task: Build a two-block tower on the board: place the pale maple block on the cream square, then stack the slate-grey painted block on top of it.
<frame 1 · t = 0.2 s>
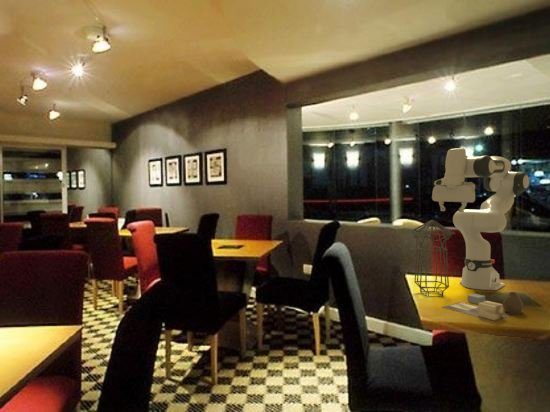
hand: (451, 211, 193), 39 cm above the table, tool pointing down, fingers open, 8 cm apart
board: (476, 313, 164), on the table
top block: (476, 304, 177), on the table
block: (490, 316, 156), point 1 cm above the table, touching board
geometric lantern: (431, 294, 193), on the table
vase: (512, 315, 162), on the table
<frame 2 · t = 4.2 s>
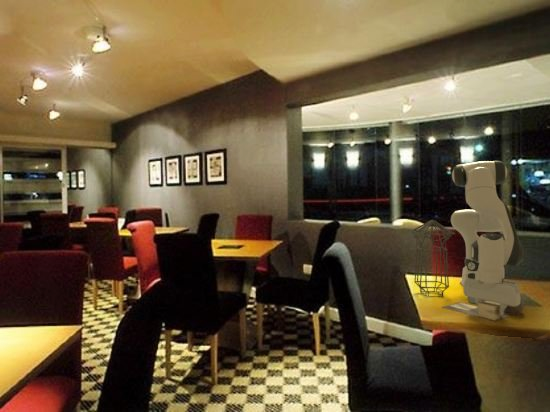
hand: (490, 312, 156), 3 cm above the table, tool pointing down, fingers closed on block, 6 cm apart
block: (490, 316, 156), point 1 cm above the table, touching board, gripper
everything else where it was.
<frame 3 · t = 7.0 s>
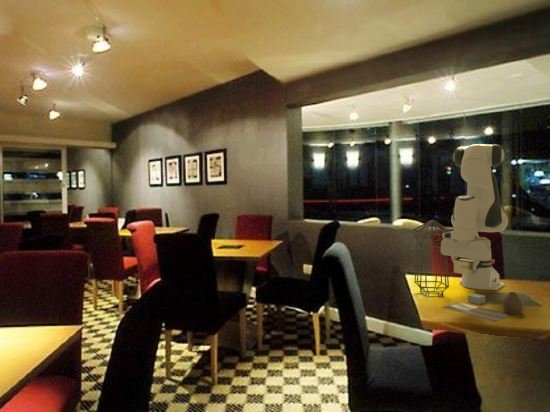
hand: (464, 268, 169), 17 cm above the table, tool pointing down, fingers closed on block, 6 cm apart
block: (464, 272, 169), point 15 cm above the table, touching gripper
everything else where it was.
when the fingers open (4 cm above the table, at t = 9.9 s): block stays where it is, resting on board.
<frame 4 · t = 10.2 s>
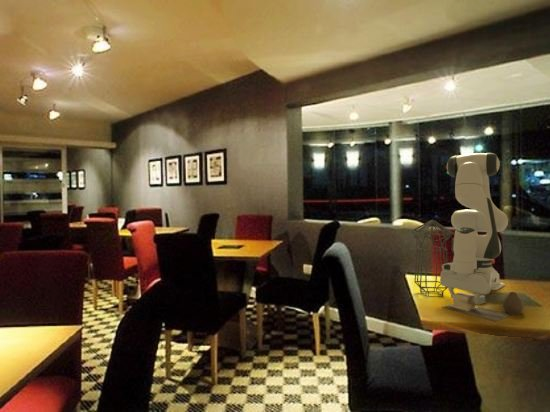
hand: (464, 300, 169), 4 cm above the table, tool pointing down, fingers open, 8 cm apart
block: (464, 306, 169), point 1 cm above the table, touching board
everything else where it was.
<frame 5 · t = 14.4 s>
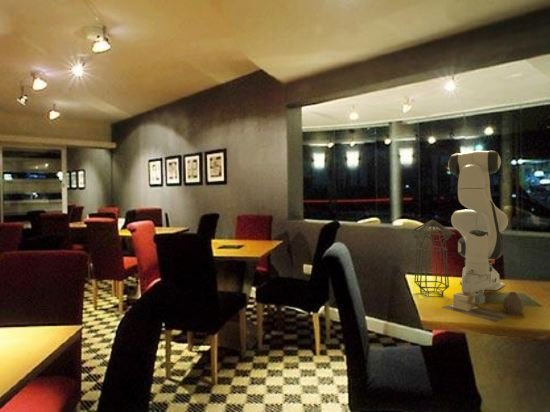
hand: (476, 300, 176), 2 cm above the table, tool pointing down, fingers closed on top block, 5 cm apart
top block: (476, 304, 176), on the table, touching gripper
everything else where it was.
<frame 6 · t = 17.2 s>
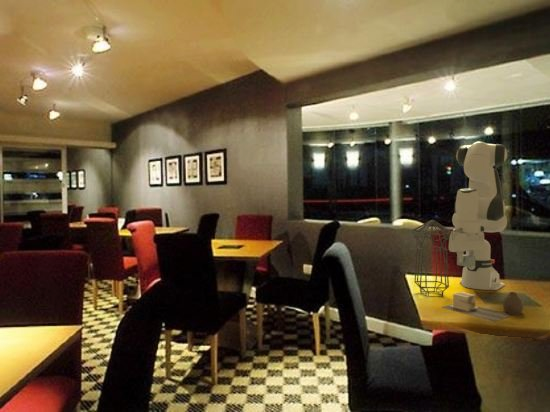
hand: (465, 261, 169), 20 cm above the table, tool pointing down, fingers closed on top block, 5 cm apart
top block: (466, 265, 169), point 18 cm above the table, touching gripper
everything else where it was.
when the fingers open (8 cm above the table, at t = 20.3 s): top block stays where it is, resting on block.
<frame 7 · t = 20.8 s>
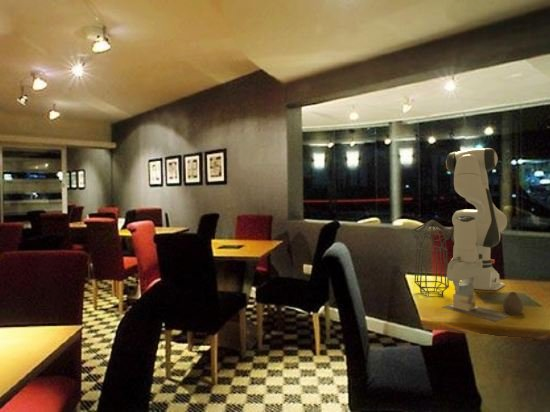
hand: (464, 289, 169), 8 cm above the table, tool pointing down, fingers open, 8 cm apart
top block: (464, 294, 169), point 6 cm above the table, touching block
block: (464, 306, 169), point 1 cm above the table, touching board, top block
everything else where it was.
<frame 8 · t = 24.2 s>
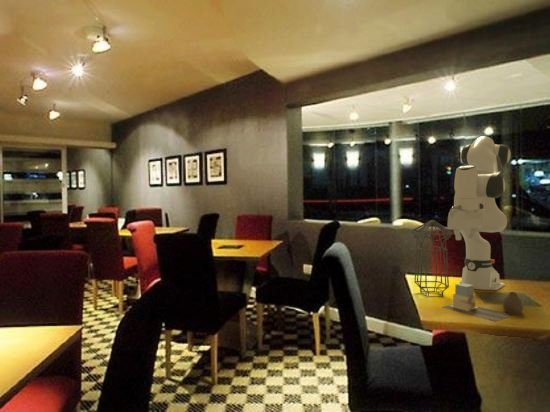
hand: (465, 239, 168), 29 cm above the table, tool pointing down, fingers open, 8 cm apart
nothing on the table moved.
at the end: block 0.0 cm from the target spot, point 1.2 cm above the table; top block 0.0 cm off-centre on the block, point 5.0 cm above the block's base; top block tilted 0° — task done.
